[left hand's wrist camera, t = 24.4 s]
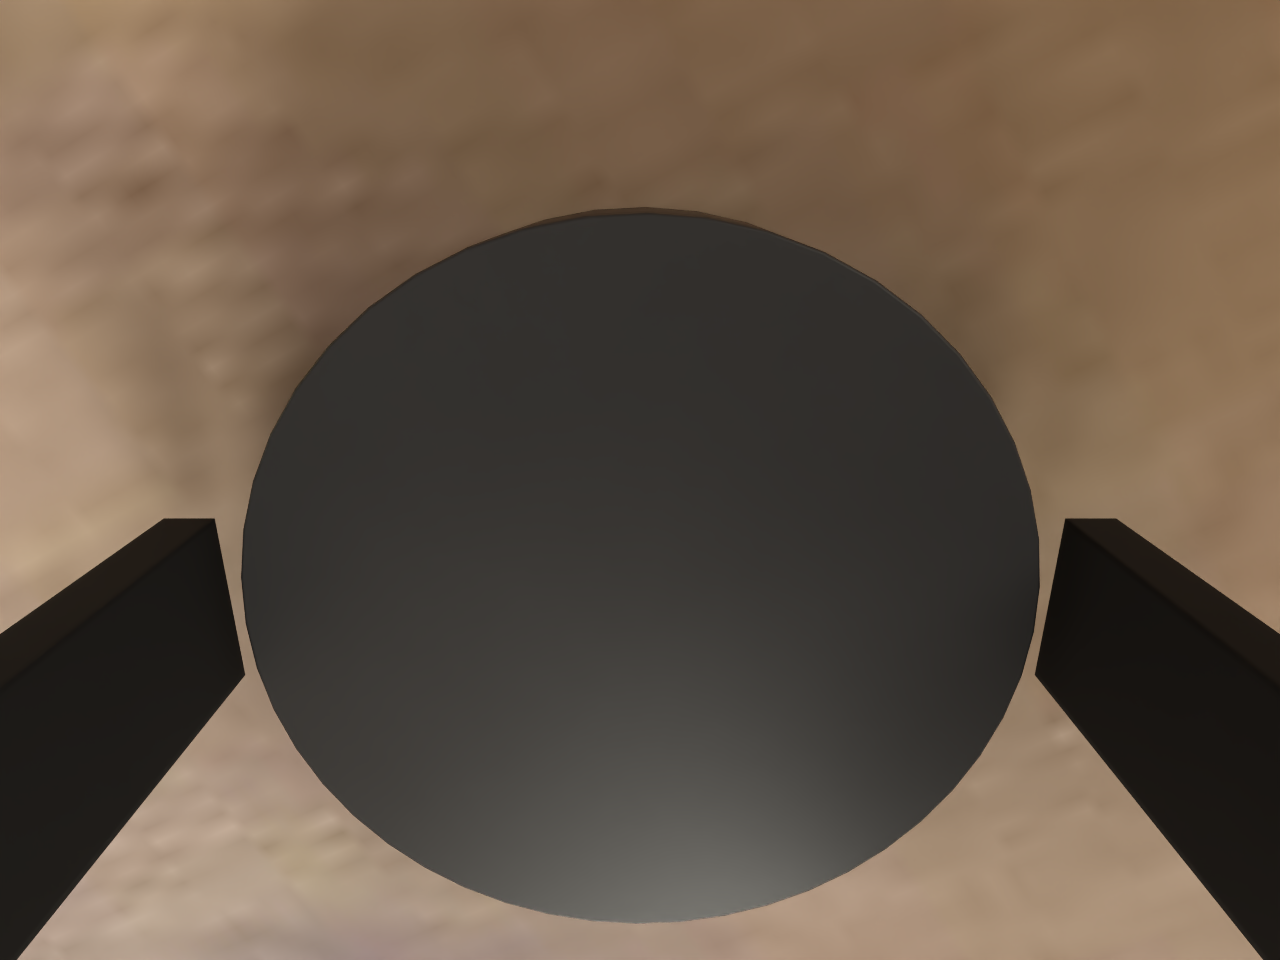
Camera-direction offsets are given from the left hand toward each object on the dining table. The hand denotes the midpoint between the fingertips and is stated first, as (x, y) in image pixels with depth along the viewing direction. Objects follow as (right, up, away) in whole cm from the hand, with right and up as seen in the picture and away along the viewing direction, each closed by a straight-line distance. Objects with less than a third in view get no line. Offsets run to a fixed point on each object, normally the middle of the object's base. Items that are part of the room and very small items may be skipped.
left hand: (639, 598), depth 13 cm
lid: (0, 0, -1) cm, 1 cm away
